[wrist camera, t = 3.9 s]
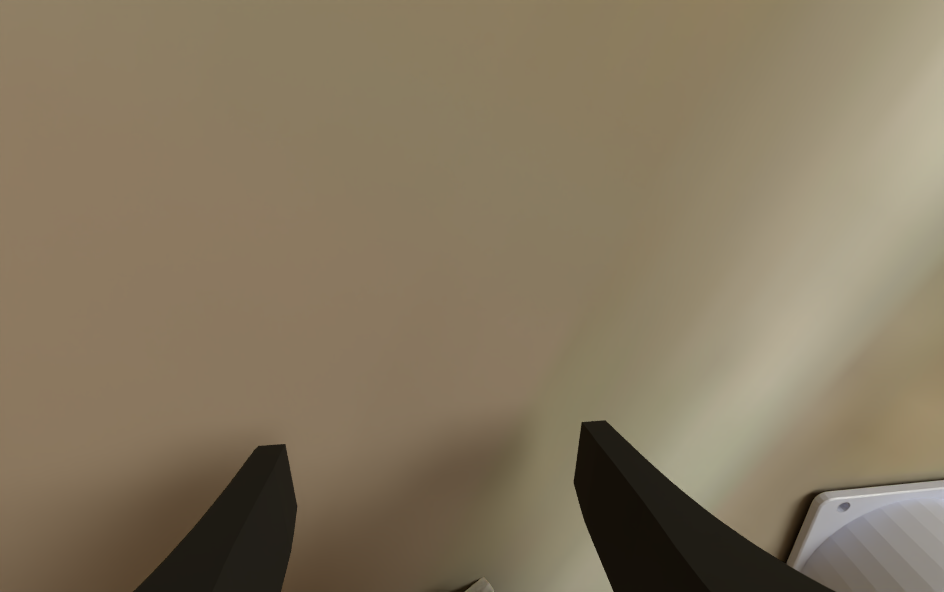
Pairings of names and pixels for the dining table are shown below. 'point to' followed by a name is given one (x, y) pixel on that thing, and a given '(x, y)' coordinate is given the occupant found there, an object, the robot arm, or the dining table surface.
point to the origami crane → (481, 586)
